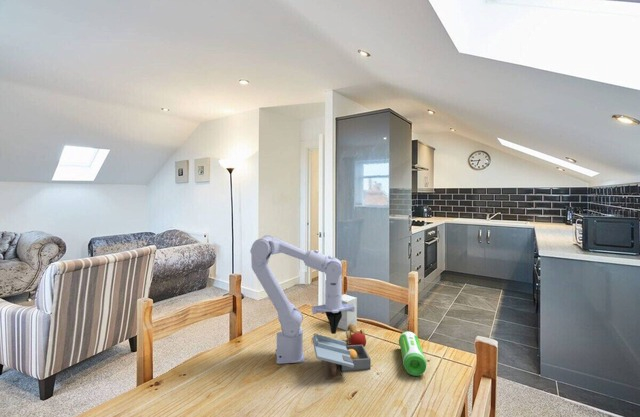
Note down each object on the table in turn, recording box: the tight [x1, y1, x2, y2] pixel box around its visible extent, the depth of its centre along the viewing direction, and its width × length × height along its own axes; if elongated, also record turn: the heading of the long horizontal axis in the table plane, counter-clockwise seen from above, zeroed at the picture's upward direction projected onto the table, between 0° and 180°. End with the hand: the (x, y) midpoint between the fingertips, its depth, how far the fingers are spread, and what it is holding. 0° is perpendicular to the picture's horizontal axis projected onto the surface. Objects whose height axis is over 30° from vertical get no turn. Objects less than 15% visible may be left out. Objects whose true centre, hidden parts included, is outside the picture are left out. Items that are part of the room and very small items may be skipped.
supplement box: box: [337, 293, 358, 332], centre depth 130 cm, size 7×7×13 cm
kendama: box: [345, 324, 367, 348], centre depth 117 cm, size 8×6×18 cm
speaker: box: [398, 330, 427, 377], centre depth 102 cm, size 18×7×8 cm, turn 171°
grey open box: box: [339, 344, 372, 373], centre depth 102 cm, size 10×10×4 cm
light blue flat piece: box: [311, 333, 354, 368], centre depth 97 cm, size 12×13×2 cm
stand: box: [321, 360, 344, 380], centre depth 98 cm, size 5×10×5 cm, turn 8°
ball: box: [349, 349, 357, 359], centre depth 101 cm, size 4×4×4 cm
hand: (333, 332), depth 103 cm, fingers closed
